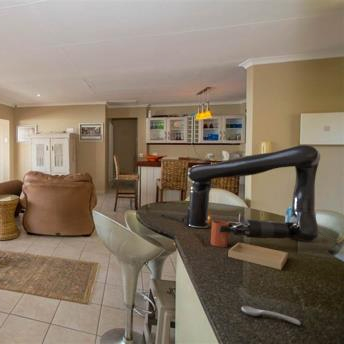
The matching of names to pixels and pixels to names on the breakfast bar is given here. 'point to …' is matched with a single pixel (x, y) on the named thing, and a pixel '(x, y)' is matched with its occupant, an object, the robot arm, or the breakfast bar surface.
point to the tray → (258, 255)
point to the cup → (219, 234)
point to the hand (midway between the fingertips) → (216, 226)
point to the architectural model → (241, 218)
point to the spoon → (257, 312)
